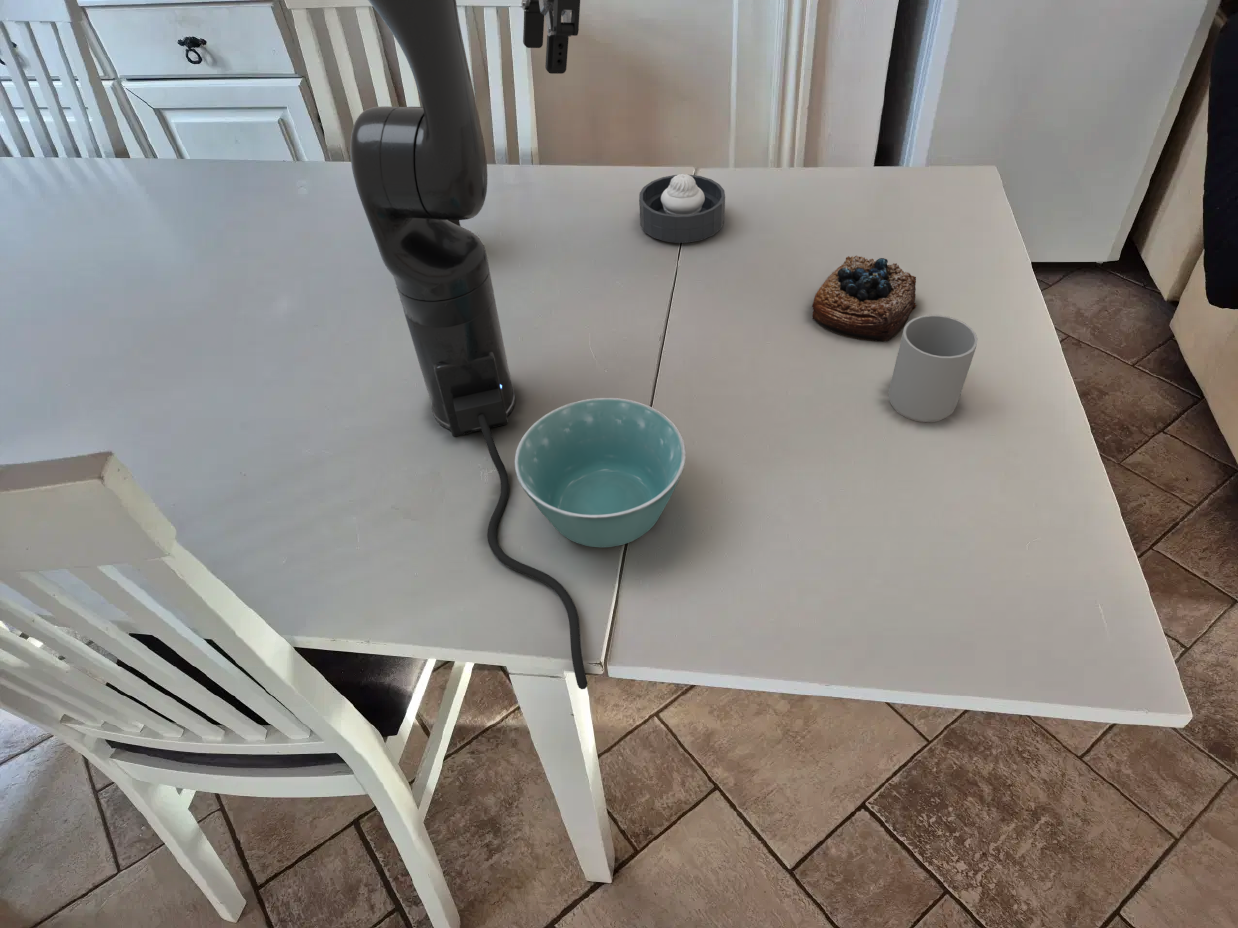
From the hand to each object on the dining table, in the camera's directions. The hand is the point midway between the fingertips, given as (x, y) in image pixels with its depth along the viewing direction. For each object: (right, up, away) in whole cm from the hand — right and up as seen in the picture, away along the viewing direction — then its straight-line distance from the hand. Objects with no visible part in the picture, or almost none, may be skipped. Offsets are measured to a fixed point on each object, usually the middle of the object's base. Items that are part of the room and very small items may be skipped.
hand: (543, 59), depth 92 cm
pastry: (+39, -27, +9) cm, 48 cm away
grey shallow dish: (+18, -11, +25) cm, 33 cm away
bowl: (+7, -51, -12) cm, 53 cm away
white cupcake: (+18, -11, +25) cm, 32 cm away
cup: (+42, -38, -2) cm, 57 cm away
